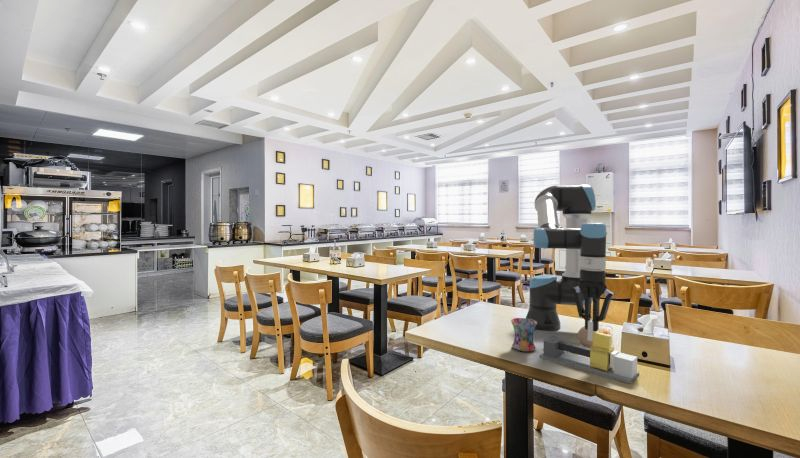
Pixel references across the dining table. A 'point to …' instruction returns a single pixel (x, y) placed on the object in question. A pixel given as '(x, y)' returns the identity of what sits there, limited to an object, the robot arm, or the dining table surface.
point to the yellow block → (601, 351)
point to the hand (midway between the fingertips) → (591, 339)
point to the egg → (584, 337)
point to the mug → (523, 334)
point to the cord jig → (619, 362)
